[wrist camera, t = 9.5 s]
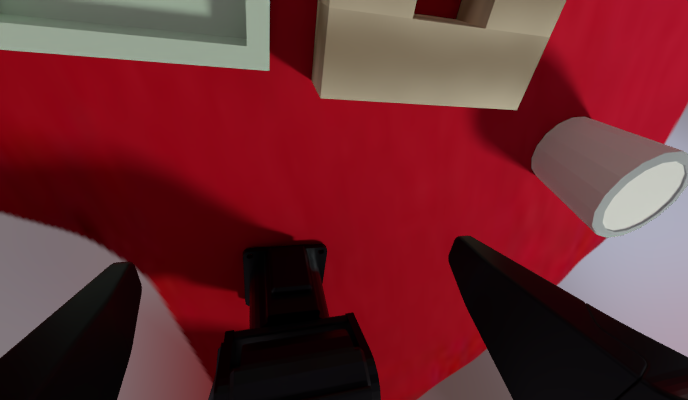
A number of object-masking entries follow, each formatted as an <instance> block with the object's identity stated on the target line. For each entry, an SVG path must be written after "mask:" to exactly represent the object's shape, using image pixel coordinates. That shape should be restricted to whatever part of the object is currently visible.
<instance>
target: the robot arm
mask: <svg viewBox="0 0 688 400" xmlns="http://www.w3.org/2000/svg"><path fill="white" fill-rule="evenodd" d="M319 250H321V251H319ZM248 254H252V255H248ZM326 256H327V248H326V246H325V245H324V244H310V245H293V246H275V247H258V248H247V249H245V250H244V252H243V264H244V283H245V302H246V305H248V306H250V329H248V330H241V331H234V330H231V331H226V332H225V338H224V342H223V343H221V347H220V348H219V349H218V357H217V368H216V375H215V379H214V382H213V386H212V389H211V393H210V396H209V399H208V400H381V396H380V385H379V378H378V373H377V369H376V365H375V361H374V358H373V356H372V353H371V351H370V348H369V346H368V344H367V342H366V340H365V338H364V335H363V333H362V331H361V329H360V327H359V324H358V322H357V320H356V318H355V316H354V313H346V314H345V315H342V316H335V317H329V314H328V309H327V305H326V300H325V296H324V291H323V286H322V283H323V276H324V269H325V262H326ZM448 259H449V264H450V267H451V269H452V272H453V274H454V277H455V280H456V282H457V285H458V287H459V290H460V293H461V295H462V298H463V300H464V303H465V305H466V307H467V309H468V311H469V313H470V315H471V317H472V319H473V321H474V323H475V325H476V327H477V329H478V331H479V333H480V335H481V337H482V339H483V341H484V343H485V345H486V347H487V349H488V351H489V353H490V355H491V357H492V359H493V361H494V363H495V365H496V367H497V369H498V371H499V372H500V374H501V376H502V379H503V380H504V382H505V384H506V386H507V388H508V390H509V392H510V394H511V396H512V398H513V400H688V357H686V356H684V355H682V354H680V353H678V352H676V351H675V350H672V349H671V348H669V347H667V346H665V345H663V344H661V343H659V342H657V341H655V340H653V339H651V338H649V337H647V336H645V335H644V334H642V333H640V332H638V331H636V330H634V329H632V328H630V327H628V326H626V325H625V324H623V323H621V322H619V321H617V320H615V319H614V318H612V317H610V316H608V315H606V314H605V313H603V312H601V311H599V310H598V309H596V308H594V307H593V306H591V305H589V304H587V303H586V304H585V302H583V301H582V300H580V299H579V298H577V297H575V296H573V295H571V294H570V293H568V292H566V291H565V290H563V289H561V288H560V287H558V286H556V285H554V284H553V283H551V282H549V281H547V280H546V279H544V278H542V277H540V276H539V275H537V274H535V273H534V272H532V271H530V270H528V269H527V268H525V267H523V266H521V265H520V264H518V263H516V262H514V261H513V260H511V259H509V258H508V257H506V256H504V255H502V254H501V253H499V252H497V251H495V250H494V249H492V248H490V247H488V246H487V245H485V244H483V243H482V242H480V241H478V240H476V239H475V238H473V237H471V236H458V237H457V238H456V239H455V240H454V243H453V246H452V248H451V251H450V253H449V257H448ZM141 292H142V286H141V282H140V279H139V276H138V273H137V270H136V268H135V265H134V264H133V263H132V262H118V263H113V264H112V265H110V266H109V267H108V268H106V269H105V270H104V271H103V272H102V273H100V274H99V275H98V276H97V277H96V278H95V279H93V280H92V281H91V282H90V283H89V284H87V285H86V286H85V287H84V288H83V289H82V290H80V291H79V292H78V293H77V294H76V295H74V297H72V298H71V299H70V300H68V301H67V302H66V303H65V304H64V305H63V306H61V307H60V308H59V309H58V310H57V311H55V312H54V313H53V314H52V315H51V316H50V317H48V318H47V319H46V320H45V321H44V322H43V323H41V324H40V325H39V326H38V327H37V328H35V329H34V330H33V331H32V332H31V333H29V334H28V335H27V336H26V337H25V338H24V339H22V340H21V341H20V342H19V343H18V344H17V345H15V346H14V347H13V348H12V349H10V350H9V351H8V352H7V353H6V354H5V355H3V357H1V358H0V400H117V398H118V394H119V391H120V388H121V385H122V381H123V378H124V375H125V371H126V368H127V365H128V361H129V358H130V354H131V350H132V345H133V339H134V334H135V328H136V322H137V315H138V310H139V305H140V299H141Z"/></svg>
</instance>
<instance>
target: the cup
mask: <svg viewBox="0 0 688 400" xmlns="http://www.w3.org/2000/svg"><path fill="white" fill-rule="evenodd" d="M531 169H532V170H533V172H534V173H535V175H536V176H537V177H538V178H539V179H540V180H541V181H542V182H543V183H544V184H545V185H546V186H547V187H548V188H549V189H550V190H551V191H552V192H553V193H554V194H555V195H556V196H557V197H558V198H559V199H561V200H562V201H563V202H564V203H565V204H566V205H567V206H568V207H569V208H570V209H571V210H572V211H573V212H574V213H575V214H576V215H577V216H578V217H579V218H580V219H581V220H582V221H583V222H584V223H585V224H586V225H587V226H588V227H589V228H590V229H591V230H592V231H593V232H595V233H596V234H597V235H600V236H603V237H607V238H609V237H615V236H621V235H624V234H627V233H629V232H631V231H634V230H636V229H638V228H641V227H642V226H644V225H645V224H647V223H648V222H650V221H652V220H653V219H655V218H656V217H657V216H659V215H660V214H661V213H662V212H664V210H666V209H667V208H668V207H669V206H670V205H671V204H673V202H674V201H676V200H677V198H678V197H679V196H680V194H681V193H682V192H683V191H684V189H685V188H686V187H687V185H688V154H687V153H686V152H684V151H681V150H679V149H676V148H673V147H670V146H667V145H664V144H661V143H659V142H656V141H653V140H650V139H647V138H644V137H641V136H639V135H636V134H633V133H630V132H627V131H624V130H621V129H619V128H616V127H613V126H610V125H607V124H604V123H602V122H599V121H596V120H593V119H590V118H587V117H572V118H570V119H568V120H566V121H563V122H561V123H559V124H558V125H556V126H555V127H554V128H553V129H551V130H550V131H549V132H548V133H547V134H546V135H545V136H544V137H543V139H542V140H541V141H540V142H539V144H538V145H537V146H536V149H535V151H534V154H533V156H532V163H531Z"/></svg>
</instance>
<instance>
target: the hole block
mask: <svg viewBox="0 0 688 400" xmlns="http://www.w3.org/2000/svg"><path fill="white" fill-rule="evenodd" d="M416 2H417V0H318V5H317V18H316V30H315V43H314V56H313V69H312V82H313V84H314V86H315V88H316V90H317V92H318V94H319V96H320V98H326V99H342V100H359V101H375V102H392V103H408V104H425V105H441V106H458V107H474V108H490V109H507V110H517V109H518V107H519V104H520V102H521V100H522V98H523V95H524V93H525V91H526V89H527V87H528V84H529V82H530V80H531V78H532V75H533V73H534V71H535V69H536V67H537V64H538V62H539V60H540V58H541V55H542V53H543V51H544V49H545V47H546V44H547V42H548V40H549V38H550V35H551V33H552V31H553V29H554V27H555V24H556V22H557V20H558V18H559V15H560V13H561V11H562V9H563V7H564V4H565V2H566V0H462V1H461V4H460V8H459V11H458V14H457V18H456V19H450V18H443V17H436V16H429V15H421V14H414V11H415V6H416Z"/></svg>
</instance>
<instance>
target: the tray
mask: <svg viewBox="0 0 688 400" xmlns="http://www.w3.org/2000/svg"><path fill="white" fill-rule="evenodd" d="M269 43H270V0H0V50H13V51H26V52H38V53H51V54H63V55H76V56H88V57H101V58H114V59H126V60H139V61H151V62H164V63H176V64H189V65H202V66H214V67H227V68H239V69H252V70H264V71H269Z"/></svg>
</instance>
